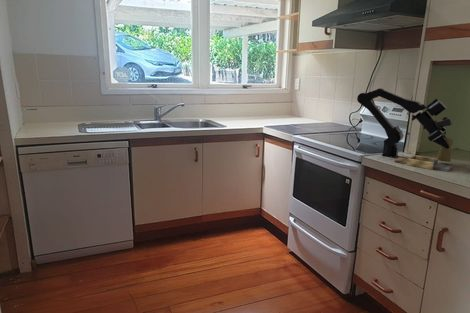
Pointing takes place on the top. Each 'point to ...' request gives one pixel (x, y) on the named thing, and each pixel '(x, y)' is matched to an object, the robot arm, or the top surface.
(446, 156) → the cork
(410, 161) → the wooden tray
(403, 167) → the top surface
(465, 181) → the top surface
